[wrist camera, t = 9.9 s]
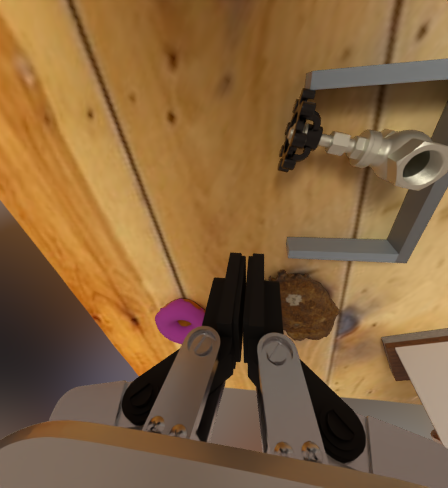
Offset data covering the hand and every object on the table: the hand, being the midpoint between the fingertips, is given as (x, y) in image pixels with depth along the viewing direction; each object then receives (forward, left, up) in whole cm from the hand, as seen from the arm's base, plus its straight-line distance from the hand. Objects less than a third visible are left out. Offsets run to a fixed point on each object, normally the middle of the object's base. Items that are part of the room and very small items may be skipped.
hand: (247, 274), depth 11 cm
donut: (+27, -13, -17) cm, 34 cm away
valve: (-3, +9, -17) cm, 19 cm away
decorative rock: (+21, +7, -17) cm, 28 cm away
